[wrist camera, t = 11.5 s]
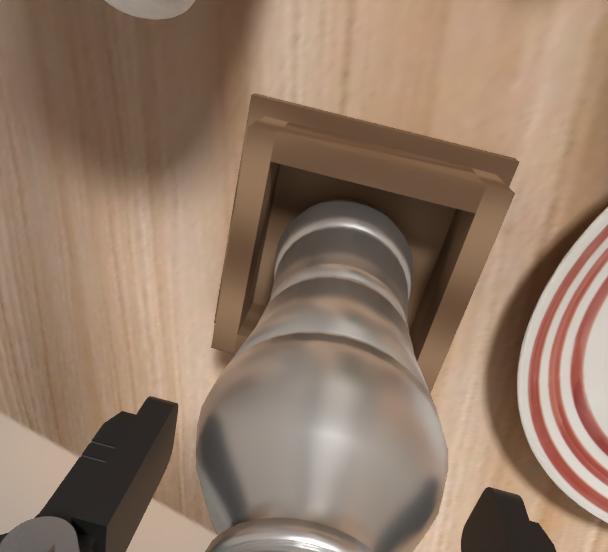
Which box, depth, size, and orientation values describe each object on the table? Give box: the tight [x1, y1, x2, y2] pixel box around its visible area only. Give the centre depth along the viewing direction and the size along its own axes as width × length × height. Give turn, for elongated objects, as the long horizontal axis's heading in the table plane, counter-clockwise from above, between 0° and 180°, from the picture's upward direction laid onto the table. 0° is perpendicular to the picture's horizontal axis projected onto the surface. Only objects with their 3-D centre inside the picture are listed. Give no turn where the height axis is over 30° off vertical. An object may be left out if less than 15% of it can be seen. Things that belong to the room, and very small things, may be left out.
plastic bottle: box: [196, 199, 448, 552], centre depth 17 cm, size 6×7×20 cm
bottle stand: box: [211, 94, 519, 393], centre depth 25 cm, size 13×13×4 cm
